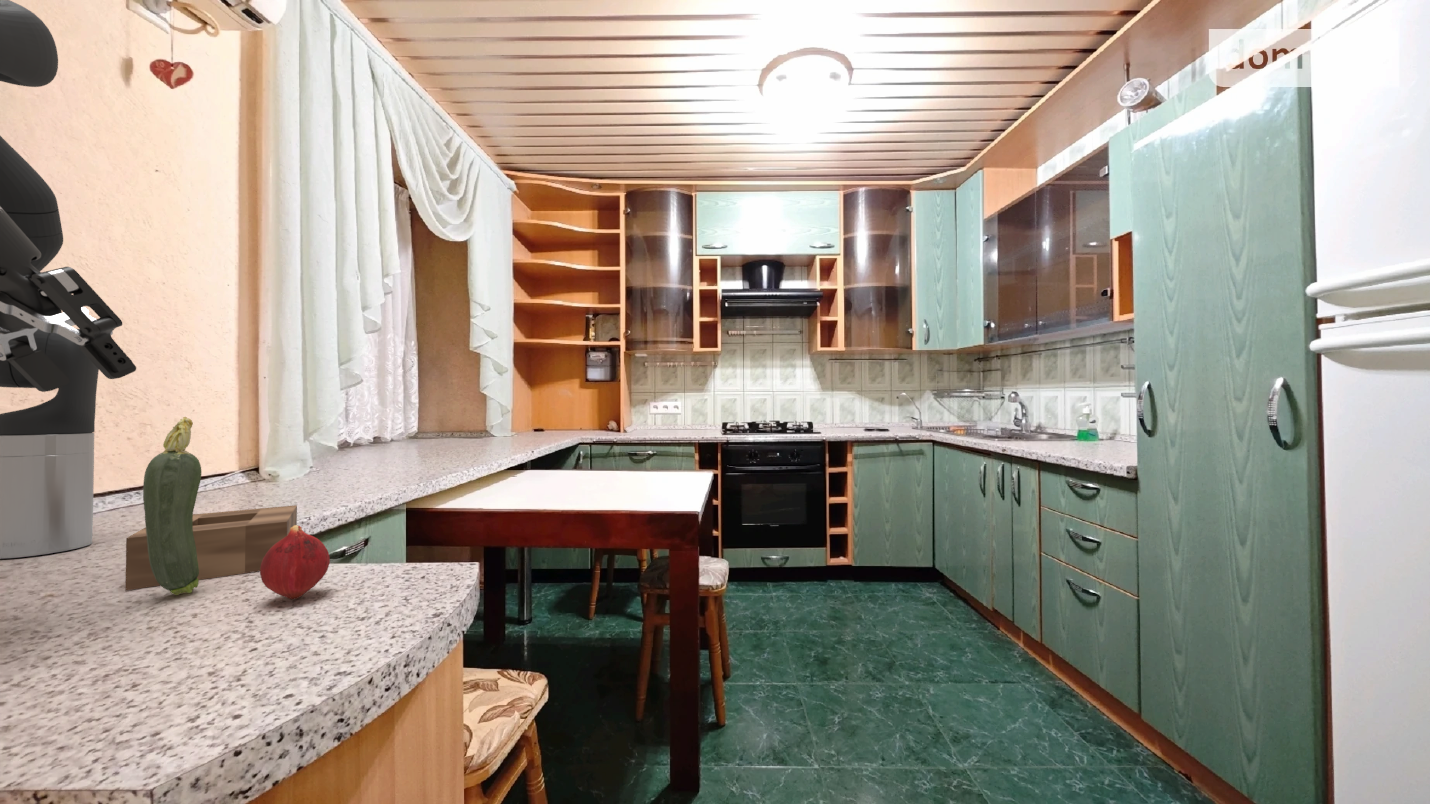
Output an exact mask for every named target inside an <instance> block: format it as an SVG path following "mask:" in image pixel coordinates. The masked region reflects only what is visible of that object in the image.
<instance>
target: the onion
mask: <svg viewBox="0 0 1430 804" xmlns="http://www.w3.org/2000/svg"><path fill="white" fill-rule="evenodd" d="M330 564H331V562H330V554H329V550H328V549H327V546H325V544H324V543H323V542H322V541H321V540H320V539H318V537H315V536H314V535H311V534H308V533H306V532H305V531H304V530H303V527H302V526H300V525H298V524H297V525H294V526H293V527H291V528H290V532H289V534H288V535H287V536H286V537H285V538H283V539H281V540H280V541H278V542H277V543H276V544H274V545H273V546H272V547H271V548H270V549H269V551H268V552H267V553H266V555H265V556H264V558H263V560H262V563H261V569H260V571H259V574H260V575H259V576H260V580H261V582H262V583H263V584H264V586H265V587H266V588H267V589H268V590H269V591H271V592H273V593H275V594H276V595H279V596H282V597H285V598H287V599H288V600H297V599H299V598H301V597H302V596H304V595H305V594H306V593H307V592H309V591H310V590H311V589H313V588H314V587H315V586H316V585H317V584H318V583H319V582H320V581H321V580H322V579H323V578H324V576H325V575H326V574H327V572H328V570H329V567H330Z"/></svg>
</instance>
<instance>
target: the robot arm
mask: <svg viewBox="0 0 1430 804" xmlns="http://www.w3.org/2000/svg"><path fill="white" fill-rule="evenodd" d="M58 55H59V54H58V49H57V45H56V41H55V39H54V37H53V35H52V33H51V30H49V28H48V26H47V25H46V24H45V23H44V21H43V20H42V19H41V18H40V17H38V15H36V14H35V13H34V12H33V11H31V10H30V9H27V8H26V7H25V6H23V5H20V4H18V3H16V2H14V1H12V0H0V82H3V83H7V84H11V85H16V86H22V87H28V88H29V87H31V88H39V87H44V86H47V85H48V84H51V83H52V81H53V80H54V79H55V78H56V75H57V73H58V69H59V56H58ZM63 244H64V235H63V227H62V223H61V217H60V210H59V206H58V200H57V197H56V195H55V193H54V191H53V189H52V187H50V185H49V184H48V183H47V182H46V181H45V179H43V177H42V176H41V175H40V174H39V173H38V172H37V170H35V169H34V167H32V166H31V165H30V163H29V162H28V161H26V159H24V157H22V156H21V154H19V152H18V151H16V150H15V149H14V147H12V146H11V144H9V142H7V140H6V139H4V138H3V137H2V136H1V135H0V388H10V389H11V388H12V389H13V388H19V389H20V388H22V389H36V390H38V391H39V392H42V393H45V392H50V391H51V392H52V391H54V390H57V389H58V390H57V392H56V394H55V396H53V398H51V399H49V400H47V401H45V402H42V403H40V404H37V405H33V406H31V407H28V408H22V409H18V410H13V411H8V412H3V413H0V559H1V560H2V559H16V558H25V557H35V556H41V555H49V554H53V553H60V552H66V551H70V550H75V549H79V548H84V547H87V546H89V545H91V544H93V525H94V523H93V522H94V521H93V520H94V480H95V477H94V476H95V475H94V473H95V470H94V469H95V430H96V429H95V428H96V427H95V423H96V420H95V419H96V404H97V403H96V401H97V391H98V390H97V389H98V388H97V387H98V380H99V371H100V373H102V375H104V377H106V379H109V380H116V379H120V378H122V377H125V376H127V375H130V374H132V373H134V372H136V371H137V366H136V365H135V364H134V363H133V361H132V359H131V358H130V357H129V356H128V354H126V352H124V350H123V349H122V348H121V347H120V345H118V344H117V343H118V342H116V341H115V340H114V339H113V337H112V335H113V334H114V330H115V329H117V328H120V327H122V326H123V321H122V320H121V318H120V317H119V316H118V315H117V314H116V313H115V311H114V310H112V309H111V308H110V306H109V305H108V304H107V303H106V302H105V300H104V299H102V297H100V295H99V294H98V293H97V292H96V290H94V289H93V288H92V286H91V285H90V284H89V283H88V282H87V281H86V280H85V279H84V278H83V277H82V276H81V275H80V273H78V271H77V270H76V269H74V268H73V267H70V266H64V267H60V268H55V269H51V270H47V271H42V270H44V269H45V268H46V267H47V266H48V265H49V263H51V262H52V261H53V260H54V258H55V257H56V256H57V255H58V254H59V252H60V251H61V249H62V246H63ZM86 307H89V308H90V309H91V310H92V311H93V312H94V313H95V314H96V315H97V316H98V317H99V318H94V317H92V316H91V315H89V312H90V311H89V309H87V308H86ZM73 326H76V327H77V328H75V327H73Z"/></svg>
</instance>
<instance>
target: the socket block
mask: <svg viewBox="0 0 1430 804" xmlns="http://www.w3.org/2000/svg"><path fill="white" fill-rule="evenodd" d="M297 517H298V505H297V504H293V505H284V506H272V507H262V508H261V507H260V508H251V509H249V508H248V509H241V510H240V509H239V510H228V511H217V512H206V513H203V512H202V513H193V536H194V540H195V545H196V552H197V560H198V567H199V575H198V577H197V578H198V581H200V580H201V581H202V580H207V579H214V578H222V577H228V576H234V575H241V574H248V573H249V574H250V573H255V572H260V569H261V563H262V560H263V558H264V556H265V555H266V553H267V552H268V551H269V549H270V548H271V547H272V546H273V545H274V544H276V543H277V542H278V541H280V540H281V539H283V538H285V537H286V536H287V535H288V534H289V532H290V528H291V527H293V526H294V525H298V524H297V523H298V520H297V519H298V518H297ZM125 542H126V543H125V586H124V590H125V591H132V590H138V589H146V588H151V587H158V586H161V585H160V584H159V583H158V582H157V580H156V578H155V576H154V574H153V572H152V569H151V566H150V561H149V554H148V545H147V534H146V526H145V527H144V528H141V529H140V530H138V531H137V532H135V533H133V534H131V535H130V536H129V535H128V537H126V541H125Z"/></svg>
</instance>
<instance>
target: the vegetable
mask: <svg viewBox="0 0 1430 804" xmlns="http://www.w3.org/2000/svg"><path fill="white" fill-rule="evenodd" d="M193 425H194V424H193V420H192V419H190V418H188V417H186V416H183V417H182V418H180V420H179V421H177V423H176V424H175V425H174V426H172V429H171V430H169V432H168V433H167V435H166V436H165V439H164V440H163V441H164V442H163V445H162V446H163V448H164V451H162V452H161V453H159V454H157V455H156V456H154V457H153V458H152V459H151V460H150V461H149V463H148V464H147V466H146V468H145V472H144V476H143V487H142V488H143V491H142V492H143V493H142V499H143V509H144V522H145V523H144V524H145V527H146V534H147V545H148V554H149V561H150V566H151V569H152V572H153V574H154V576H155V578H156V580H157V582H158V583H159V584H160V586H161V588H163V589H165V590H167V591H170V593H171V594H173V595H175V596H179V595H180V594H185V593H187V594H192V593H193V590H194V588H198V587H199V581H200V580H198V578H197V577H198V575H199V567H198V560H197V552H196V545H195V540H194V536H193V514H194V509H195V505H196V501H197V497H198V493H199V488H200V485H201V484H200V483H201V479H202V466H201V463H200V461H199V458H197V457H196V455H195V454H193V453H191V452H189V451H187V450H186V449H187V448H188V446H189V445H190V442H191V435H192V430H191V429H192V427H193Z"/></svg>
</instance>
